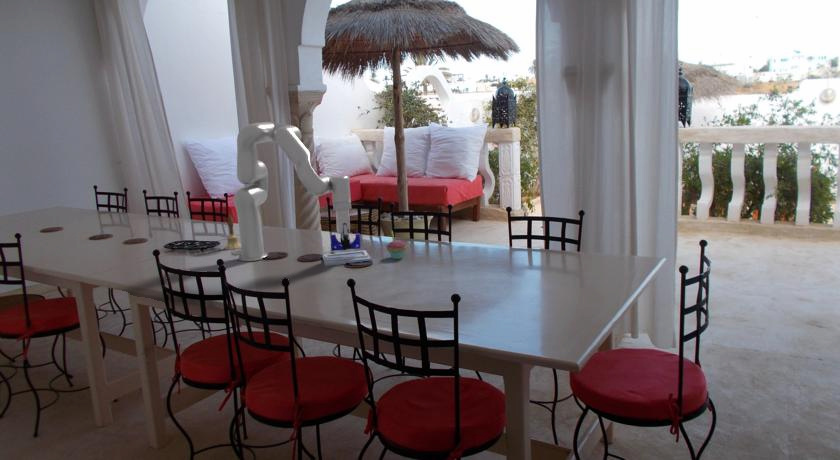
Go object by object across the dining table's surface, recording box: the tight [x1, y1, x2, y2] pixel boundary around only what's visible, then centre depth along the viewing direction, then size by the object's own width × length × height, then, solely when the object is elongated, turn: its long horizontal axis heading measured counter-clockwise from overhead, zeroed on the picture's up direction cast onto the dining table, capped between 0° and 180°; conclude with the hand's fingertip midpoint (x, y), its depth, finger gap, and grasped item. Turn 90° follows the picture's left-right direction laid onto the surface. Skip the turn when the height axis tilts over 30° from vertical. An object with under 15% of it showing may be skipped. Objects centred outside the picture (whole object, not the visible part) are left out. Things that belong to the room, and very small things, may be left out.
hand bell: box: [224, 214, 241, 251], centre depth 305 cm, size 8×8×16 cm
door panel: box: [321, 249, 372, 267], centre depth 273 cm, size 19×16×2 cm
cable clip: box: [330, 232, 362, 252], centre depth 272 cm, size 12×4×6 cm, turn 89°
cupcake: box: [386, 230, 407, 260], centre depth 271 cm, size 9×8×12 cm
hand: (345, 247), depth 272 cm, fingers closed on cable clip, 5 cm apart
